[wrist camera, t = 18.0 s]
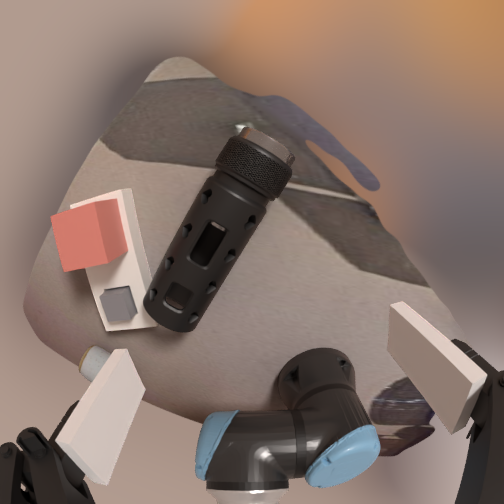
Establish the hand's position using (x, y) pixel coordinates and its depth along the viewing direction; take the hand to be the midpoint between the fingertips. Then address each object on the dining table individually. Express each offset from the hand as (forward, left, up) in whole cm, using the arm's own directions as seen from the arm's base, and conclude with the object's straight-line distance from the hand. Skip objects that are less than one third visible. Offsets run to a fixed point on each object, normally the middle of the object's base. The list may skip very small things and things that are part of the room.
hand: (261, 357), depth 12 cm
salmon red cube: (+6, +22, -28) cm, 36 cm away
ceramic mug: (-21, +33, -32) cm, 50 cm away
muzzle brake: (+2, +4, -32) cm, 32 cm away
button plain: (-6, +22, -29) cm, 37 cm away
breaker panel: (0, +22, -32) cm, 39 cm away
